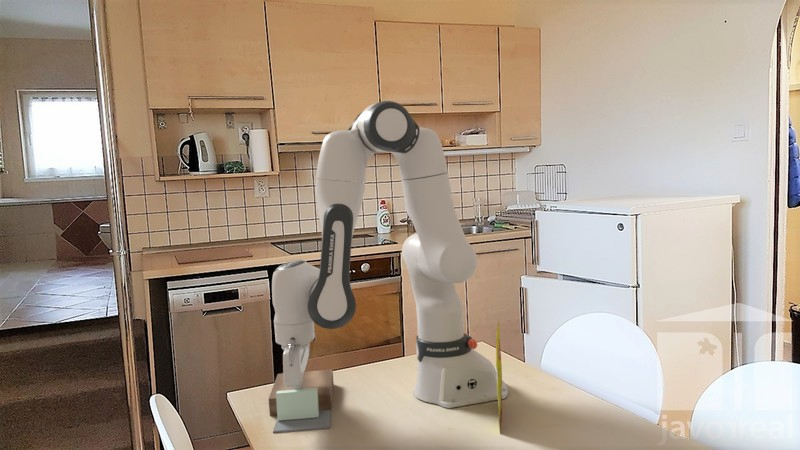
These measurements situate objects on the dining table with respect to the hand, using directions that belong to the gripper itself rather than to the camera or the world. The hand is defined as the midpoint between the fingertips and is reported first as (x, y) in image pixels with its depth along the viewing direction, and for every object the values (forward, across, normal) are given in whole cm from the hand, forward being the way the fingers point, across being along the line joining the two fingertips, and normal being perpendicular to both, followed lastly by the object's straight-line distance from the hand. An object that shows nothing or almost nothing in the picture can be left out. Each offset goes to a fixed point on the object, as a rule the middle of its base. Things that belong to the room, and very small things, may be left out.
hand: (299, 391), depth 131 cm
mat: (+5, -5, -1) cm, 7 cm away
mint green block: (+2, -2, 0) cm, 3 cm away
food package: (+5, -11, -44) cm, 46 cm away
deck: (+5, +8, 0) cm, 9 cm away
